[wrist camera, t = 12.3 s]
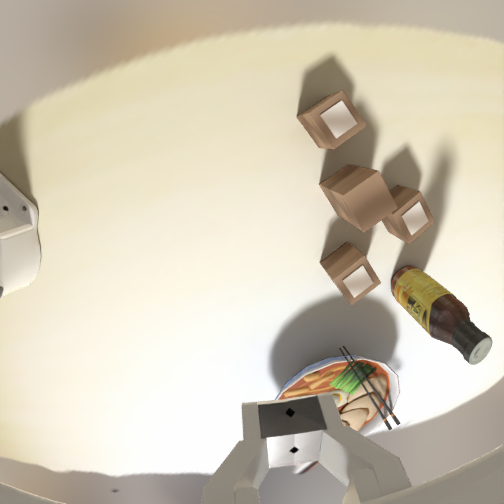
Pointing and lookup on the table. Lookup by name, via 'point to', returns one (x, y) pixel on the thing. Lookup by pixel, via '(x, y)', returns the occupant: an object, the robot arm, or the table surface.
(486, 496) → the robot arm
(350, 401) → the ramen bowl
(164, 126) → the table surface
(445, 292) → the sauce bottle
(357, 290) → the white paneled block
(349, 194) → the plain block
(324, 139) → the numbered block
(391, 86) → the table surface
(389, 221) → the white-paneled wooden block
